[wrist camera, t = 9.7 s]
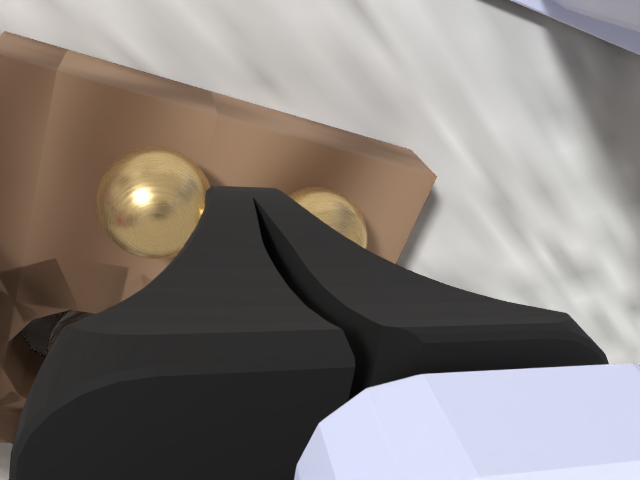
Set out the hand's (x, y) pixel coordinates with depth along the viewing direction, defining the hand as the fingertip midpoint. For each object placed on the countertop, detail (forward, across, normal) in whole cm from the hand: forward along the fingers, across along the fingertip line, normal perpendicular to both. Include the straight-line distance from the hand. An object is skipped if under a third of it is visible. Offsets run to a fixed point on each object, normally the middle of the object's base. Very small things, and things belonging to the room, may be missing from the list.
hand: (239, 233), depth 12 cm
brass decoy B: (+6, +2, +2) cm, 6 cm away
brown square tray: (+10, 0, +7) cm, 12 cm away
